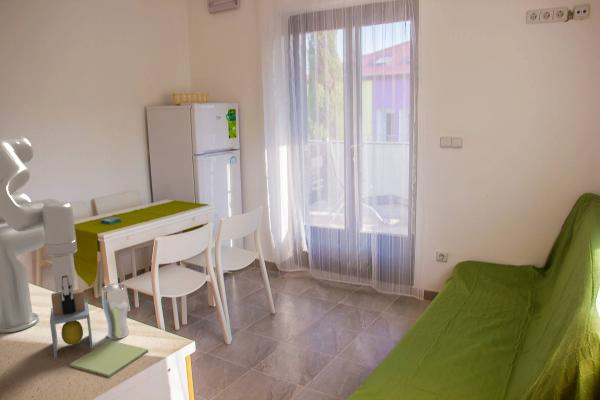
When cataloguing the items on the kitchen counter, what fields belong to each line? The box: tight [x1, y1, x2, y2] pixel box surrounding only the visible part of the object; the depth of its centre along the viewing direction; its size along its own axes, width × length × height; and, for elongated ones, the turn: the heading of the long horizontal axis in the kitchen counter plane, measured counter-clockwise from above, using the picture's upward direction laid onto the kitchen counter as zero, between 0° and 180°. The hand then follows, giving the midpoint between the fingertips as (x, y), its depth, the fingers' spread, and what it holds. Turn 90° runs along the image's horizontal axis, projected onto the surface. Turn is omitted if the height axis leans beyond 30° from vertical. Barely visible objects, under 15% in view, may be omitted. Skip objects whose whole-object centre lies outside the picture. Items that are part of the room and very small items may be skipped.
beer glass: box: [101, 283, 130, 340], centre depth 143 cm, size 7×7×15 cm
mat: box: [69, 339, 149, 378], centre depth 131 cm, size 14×14×1 cm
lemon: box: [61, 320, 84, 346], centre depth 138 cm, size 6×6×8 cm
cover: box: [49, 288, 94, 358], centre depth 137 cm, size 10×10×16 cm
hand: (69, 309), depth 137 cm, fingers open, 4 cm apart
